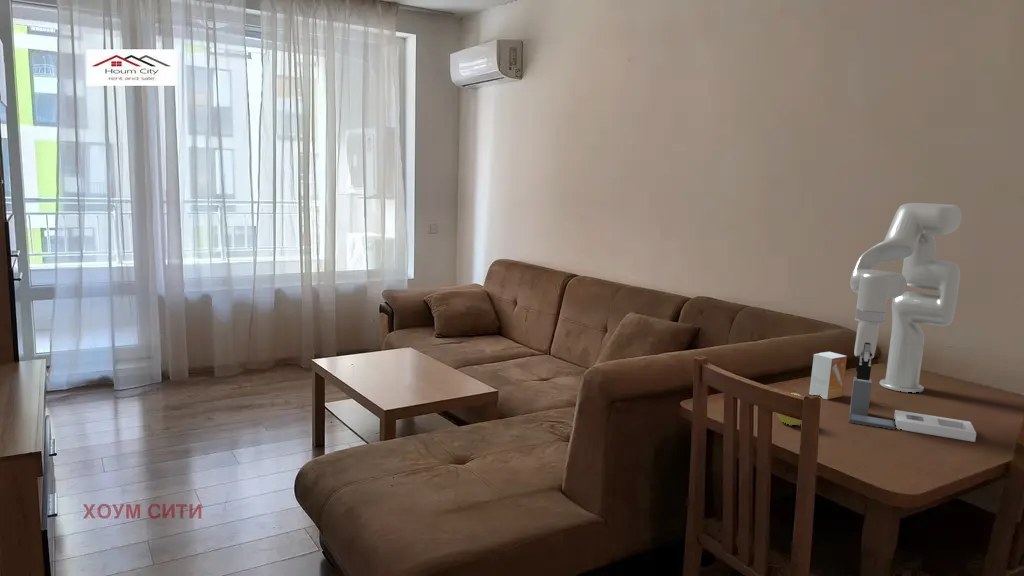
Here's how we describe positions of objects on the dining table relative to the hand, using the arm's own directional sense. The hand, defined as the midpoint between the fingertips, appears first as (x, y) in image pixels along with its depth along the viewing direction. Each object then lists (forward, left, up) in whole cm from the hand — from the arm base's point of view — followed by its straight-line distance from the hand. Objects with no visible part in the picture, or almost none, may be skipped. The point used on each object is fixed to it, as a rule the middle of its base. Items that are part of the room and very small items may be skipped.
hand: (862, 375), depth 198 cm
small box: (-15, -9, -12) cm, 21 cm away
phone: (+7, +3, -11) cm, 14 cm away
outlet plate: (+3, +18, -11) cm, 22 cm away
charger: (-1, 0, -11) cm, 11 cm away
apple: (+19, -17, -12) cm, 28 cm away
